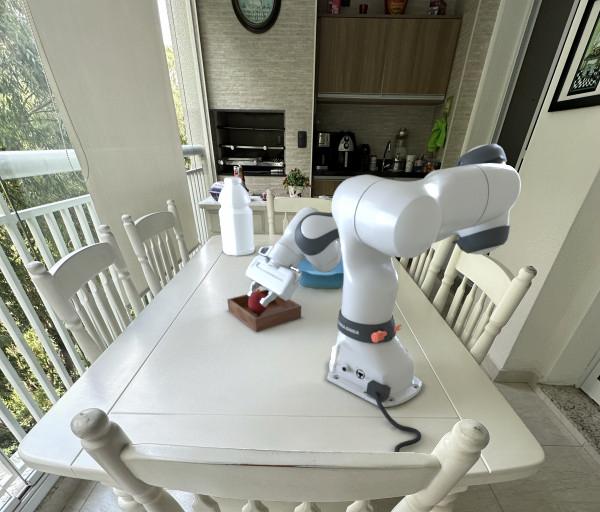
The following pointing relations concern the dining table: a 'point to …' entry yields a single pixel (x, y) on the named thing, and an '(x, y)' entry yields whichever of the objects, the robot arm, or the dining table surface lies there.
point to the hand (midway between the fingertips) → (255, 301)
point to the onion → (256, 302)
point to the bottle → (236, 218)
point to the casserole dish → (321, 276)
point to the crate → (271, 317)
